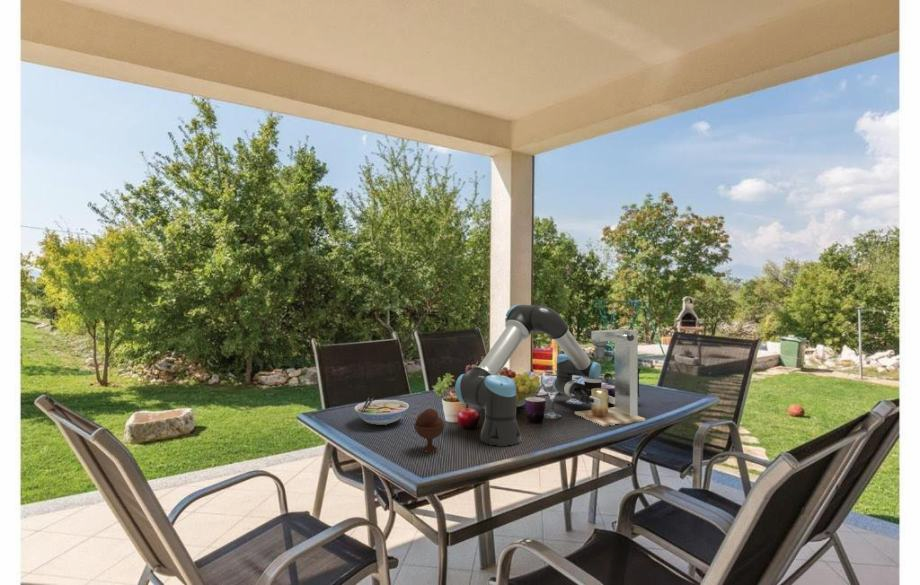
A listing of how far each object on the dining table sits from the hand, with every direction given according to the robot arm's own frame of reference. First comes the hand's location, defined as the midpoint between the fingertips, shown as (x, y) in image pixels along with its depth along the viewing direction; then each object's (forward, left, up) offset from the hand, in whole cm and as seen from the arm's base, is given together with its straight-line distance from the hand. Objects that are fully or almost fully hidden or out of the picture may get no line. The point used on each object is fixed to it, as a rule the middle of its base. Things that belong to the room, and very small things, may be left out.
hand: (606, 401), depth 197 cm
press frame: (+7, +2, -8) cm, 10 cm away
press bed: (+5, +5, -9) cm, 11 cm away
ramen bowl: (-90, +32, -9) cm, 96 cm away
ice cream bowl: (-80, -6, -9) cm, 81 cm away
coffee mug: (+15, +33, -9) cm, 37 cm away
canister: (+28, +20, -9) cm, 35 cm away
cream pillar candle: (0, +5, -6) cm, 8 cm away
